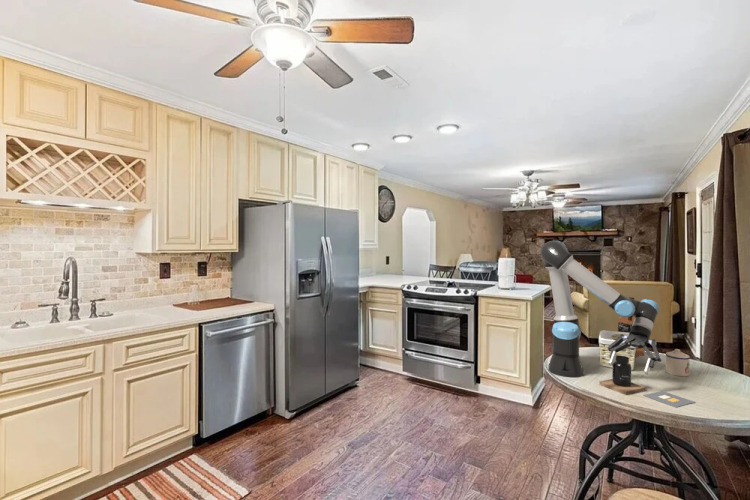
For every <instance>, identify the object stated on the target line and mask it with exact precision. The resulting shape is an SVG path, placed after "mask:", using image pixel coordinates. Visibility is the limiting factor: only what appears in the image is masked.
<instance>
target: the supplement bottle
mask: <svg viewBox="0 0 750 500" xmlns="http://www.w3.org/2000/svg"><path fill="white" fill-rule="evenodd" d="M615 360H616V361H615V362H614V363H613V368H612V378H611V379H612V382H613V383H614V384H616V385H619V386H623V387H629V386H630V385H631V382H632V370H631V365H630V364H629V358H628V357H626V356H621V355H617V356H616V359H615Z"/></svg>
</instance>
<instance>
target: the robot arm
mask: <svg viewBox="0 0 750 500" xmlns="http://www.w3.org/2000/svg"><path fill="white" fill-rule="evenodd" d="M568 249H569V248H568V247H567V245H566V244H565V243H564V242H562V241H559V240H550V241H547V242H545V243H544V244H542V246H541V248H540V256H541V258H542V259H543V264H544V267H545V270H547V271H548V274H549V280H550V286H551V292H552V298H553V307H554V313H555V316H554V317H553V325H552V329H551V332H552V349H551V350H552V351H551V353H552V355H551V358H550V360H549V363H548V372H550V373H552V374H555V375H558V376H561V377H568V378H569V377H570V378H579V377H582V376H583V375H584V368H583V367H582V362H581V360H580V338H581V337H582V329H581V326H580V321H579V317H578V315H576V314H575V311H574V306H573V300H572V299H573V298H572V293H571V287H570V281H569V277H571V278H572V279H573V280H574V281H576V283H578V284H579V285H581V286H582V287H584V289H586V290H588V292H589V293H591V294H592V295H594V296H595V297H596V298H597V299H599V300H600V301H602V302H603V303H604V304H605V305H606V306H608V307H609V308H610V309H612V310H613V312H615V314H617V316H619V317H630V316H635V319H634V322H633V324H632V327H631V330H630V333H629V335H628V336H624V335H623V334H621V335H620V337H619V338H618V337H617V338H616V339H614V340H615V341H614V342H613V343H612V344H611V345H609V346H608V350H609V351H610V352H611V353H610V358H611V359H610V362H609V364H610V365H611V366H612V367H613V363H614V362H615V359H616V356H617V352H619V351H621V350H623V349H625V348H627V347H630V346H632V347H638V348H642V347H643V349H644V352H645V353H646V354H647V355H648V359H647V360H646V361H647V362H646V364H645V368H644V370H643V371H644V373H645V375H647V376H648V375H649V373H650V370H651V369H653V368H654V366H655V363H656V362H658V363H661V362H662V359H661V356H660V354H659V351H658V347H657V341H656V339H650V337H651V334H652V332H653V328H654V325H655V321H656V320H657V319H656V318H657V317H658V314H659V307H660V306H659V304H658V303H657V302H656V301H655V300H652V299H646V298H645V299H641V301H639V300H636V299H635V298H634V299H631V298H632V297H631V298H628V297H629V296H625V295H623V294H621V293H620V292H618V290H615V289H614V288H613V287H612V286H611V285H609V284H608V283H606V282H605V281H604V280H602V279H601V278H600V277H599V276H597V275H596V274H594V273H593V272H592V271H591V270H589V269H588V268H587V267H585V266H584V265H583V264H581V263H580V262H578V261H577V260H576V259H575V258H574V255H572V253H570V252H569V250H568ZM626 339H628V340H626ZM625 340H626V341H625ZM623 341H625V342H624V343H622V342H623ZM621 343H622V344H621ZM628 343H629V344H628ZM647 345H651V346H652V349H653V353H654V355H655V356H654V355H653V354H652V353H651V351H650V350H649V349H648V347H647Z"/></svg>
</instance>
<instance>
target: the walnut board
mask: <svg viewBox="0 0 750 500" xmlns="http://www.w3.org/2000/svg"><path fill="white" fill-rule="evenodd" d="M599 386H601V387H604V388H607V389H610V390H612V391H615V392H617V393H620V394H622V395H624V396H628V395H633V394H636V393H641V392H642V393H643V392H645V391H646V386H643V385H640V384H638V383H635V382H632V381H631V385H630V386H629V387H623V386H619V385H616V384H614V383H613V382H612V378H611V379H605V380H600V381H599Z"/></svg>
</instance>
